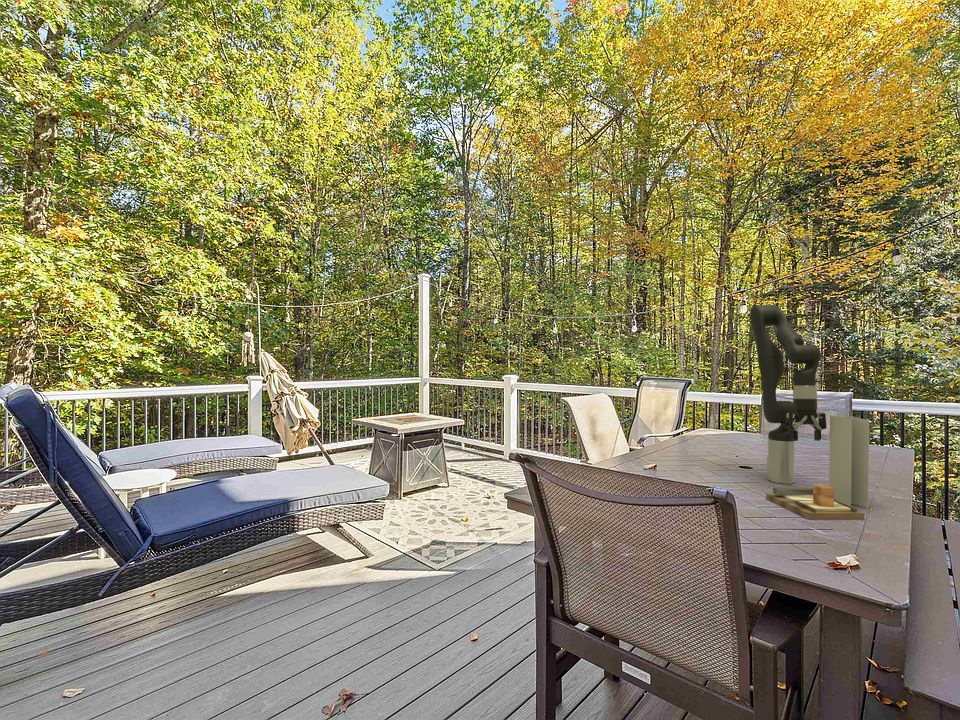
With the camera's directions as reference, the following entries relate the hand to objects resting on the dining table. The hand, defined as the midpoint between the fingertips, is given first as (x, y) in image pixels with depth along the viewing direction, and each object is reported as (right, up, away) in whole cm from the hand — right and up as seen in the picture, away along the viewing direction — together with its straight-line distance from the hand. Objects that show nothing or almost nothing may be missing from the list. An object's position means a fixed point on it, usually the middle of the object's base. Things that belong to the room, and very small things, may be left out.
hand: (806, 440), depth 182 cm
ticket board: (-10, -20, -18) cm, 29 cm away
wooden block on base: (-10, -18, -23) cm, 31 cm away
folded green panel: (+8, -20, -10) cm, 24 cm away
